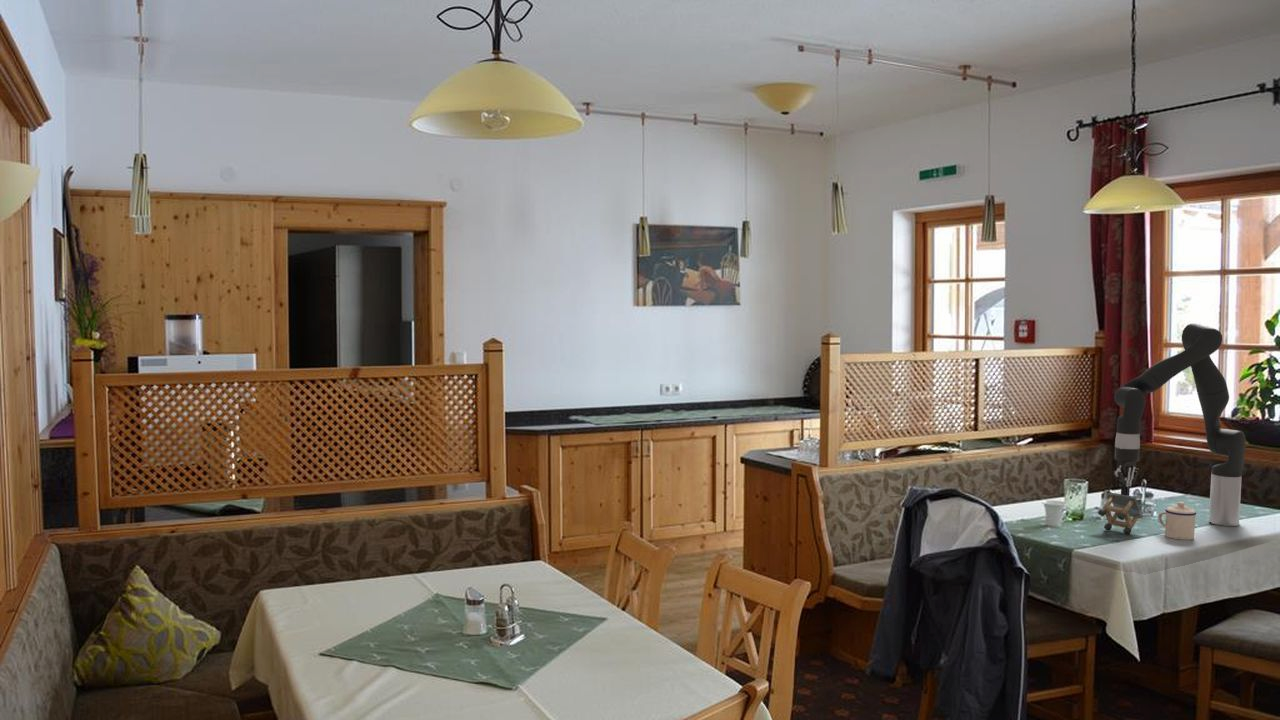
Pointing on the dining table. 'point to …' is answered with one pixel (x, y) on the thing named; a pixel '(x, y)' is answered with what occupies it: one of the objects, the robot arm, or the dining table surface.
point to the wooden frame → (1121, 511)
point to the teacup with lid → (1179, 522)
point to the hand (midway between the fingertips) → (1124, 497)
